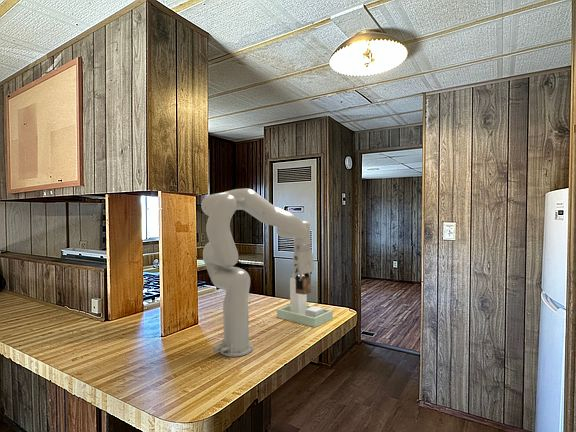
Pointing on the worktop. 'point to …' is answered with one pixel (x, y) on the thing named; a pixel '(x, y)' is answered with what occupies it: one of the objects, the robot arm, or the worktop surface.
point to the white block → (314, 311)
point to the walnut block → (305, 286)
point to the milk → (297, 299)
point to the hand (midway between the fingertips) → (303, 287)
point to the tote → (304, 316)
